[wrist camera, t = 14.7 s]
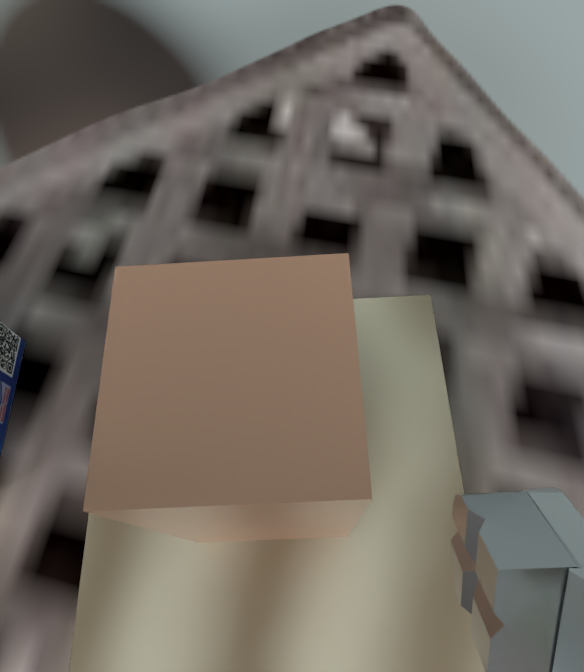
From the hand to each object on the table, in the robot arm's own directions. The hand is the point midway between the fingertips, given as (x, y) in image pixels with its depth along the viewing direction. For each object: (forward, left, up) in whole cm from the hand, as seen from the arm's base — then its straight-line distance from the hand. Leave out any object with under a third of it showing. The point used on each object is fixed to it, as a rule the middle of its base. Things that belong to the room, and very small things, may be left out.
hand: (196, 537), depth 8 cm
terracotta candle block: (0, +3, -11) cm, 12 cm away
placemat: (0, +3, -12) cm, 13 cm away
